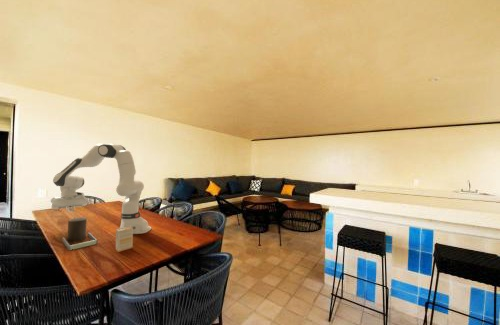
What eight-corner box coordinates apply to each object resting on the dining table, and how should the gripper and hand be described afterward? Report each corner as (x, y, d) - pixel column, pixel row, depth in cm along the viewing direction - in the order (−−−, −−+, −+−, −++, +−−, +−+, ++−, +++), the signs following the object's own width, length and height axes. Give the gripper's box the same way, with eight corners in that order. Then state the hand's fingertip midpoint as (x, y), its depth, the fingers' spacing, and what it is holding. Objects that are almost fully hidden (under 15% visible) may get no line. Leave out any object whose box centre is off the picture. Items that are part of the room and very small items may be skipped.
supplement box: (129, 246, 131) (130, 225, 131) (132, 248, 128) (133, 227, 128) (115, 250, 124) (115, 228, 124) (117, 252, 121) (118, 230, 121)
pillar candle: (74, 242, 133) (76, 219, 133) (63, 240, 135) (64, 218, 135) (89, 237, 142) (90, 216, 142) (78, 236, 144) (79, 215, 144)
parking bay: (62, 241, 134) (62, 237, 134) (88, 235, 145) (89, 232, 145) (68, 250, 121) (68, 246, 121) (97, 243, 132) (97, 239, 132)
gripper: (51, 195, 148) (52, 211, 142) (86, 192, 164) (88, 206, 158) (49, 200, 151) (51, 216, 145) (84, 197, 167) (87, 211, 160)
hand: (71, 211), depth 151 cm, fingers closed
